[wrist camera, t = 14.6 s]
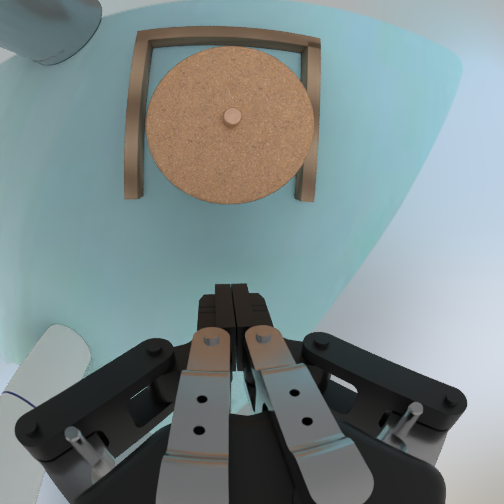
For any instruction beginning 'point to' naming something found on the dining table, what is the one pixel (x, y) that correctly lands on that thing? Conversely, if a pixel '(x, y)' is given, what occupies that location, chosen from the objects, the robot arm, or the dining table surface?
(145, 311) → the dining table surface
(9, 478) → the cylindrical container
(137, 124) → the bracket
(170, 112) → the lidded jar
